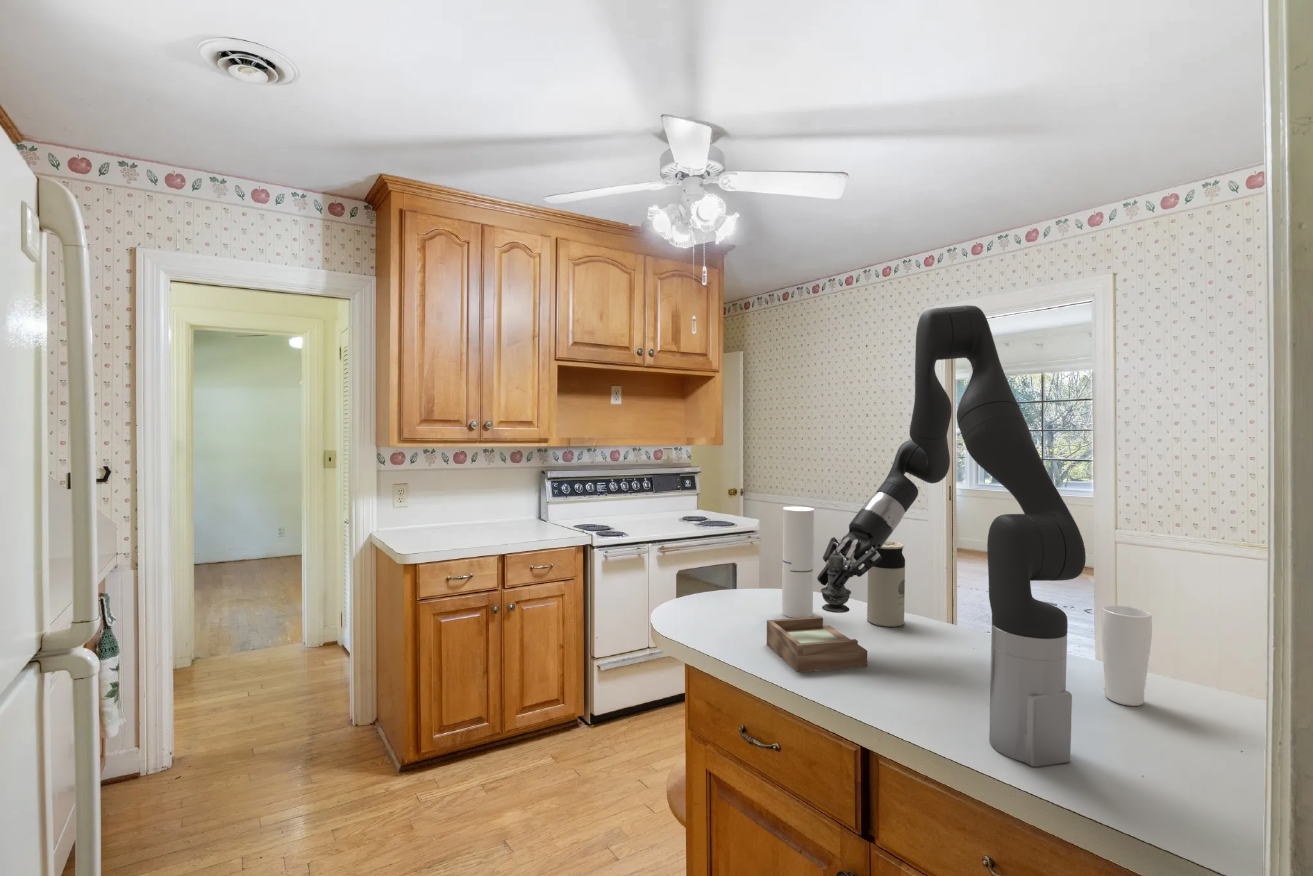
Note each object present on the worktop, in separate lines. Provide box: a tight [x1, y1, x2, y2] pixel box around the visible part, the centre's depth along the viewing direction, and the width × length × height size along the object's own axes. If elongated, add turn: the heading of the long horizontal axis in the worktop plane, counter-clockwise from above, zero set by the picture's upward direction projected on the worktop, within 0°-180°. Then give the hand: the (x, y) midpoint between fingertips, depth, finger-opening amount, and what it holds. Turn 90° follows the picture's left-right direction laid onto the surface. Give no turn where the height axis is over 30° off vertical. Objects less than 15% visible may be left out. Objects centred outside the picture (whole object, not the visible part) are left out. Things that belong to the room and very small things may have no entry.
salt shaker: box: [820, 549, 852, 614], centre depth 129 cm, size 6×6×12 cm
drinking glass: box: [1100, 604, 1153, 707], centre depth 107 cm, size 7×7×15 cm
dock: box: [766, 616, 868, 673], centre depth 128 cm, size 15×14×5 cm
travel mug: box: [866, 540, 906, 628], centre depth 148 cm, size 8×8×18 cm
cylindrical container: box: [781, 506, 815, 618], centre depth 154 cm, size 7×7×25 cm
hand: (827, 584), depth 128 cm, fingers closed on salt shaker, 3 cm apart
